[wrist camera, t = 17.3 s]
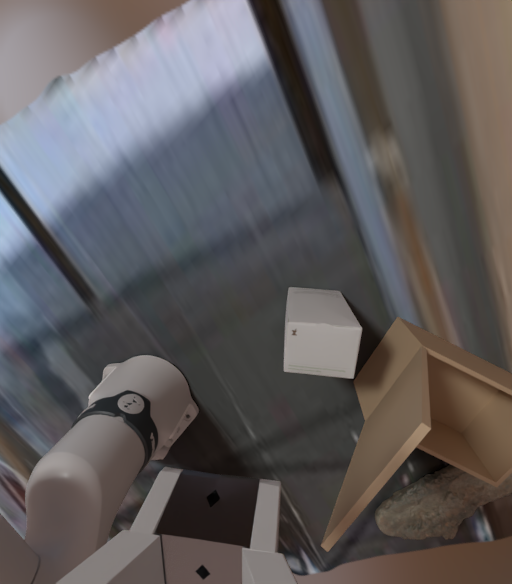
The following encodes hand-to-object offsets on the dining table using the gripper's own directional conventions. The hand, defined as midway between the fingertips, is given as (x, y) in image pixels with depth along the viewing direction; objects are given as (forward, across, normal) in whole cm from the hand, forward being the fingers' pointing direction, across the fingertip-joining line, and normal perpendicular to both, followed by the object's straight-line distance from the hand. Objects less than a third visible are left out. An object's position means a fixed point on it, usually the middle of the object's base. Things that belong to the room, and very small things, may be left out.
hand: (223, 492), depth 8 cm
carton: (+41, -24, +20) cm, 51 cm away
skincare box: (+41, -5, +9) cm, 42 cm away
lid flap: (+21, -11, +14) cm, 28 cm away
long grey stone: (+42, -32, +39) cm, 65 cm away
